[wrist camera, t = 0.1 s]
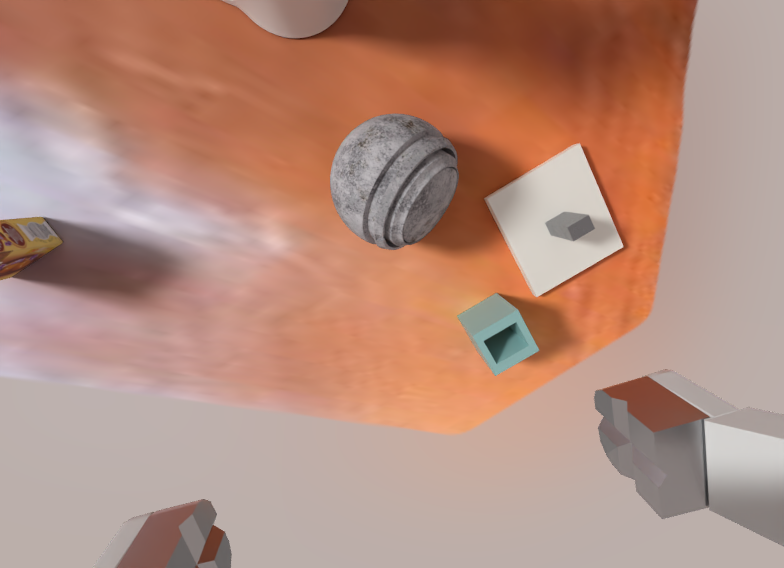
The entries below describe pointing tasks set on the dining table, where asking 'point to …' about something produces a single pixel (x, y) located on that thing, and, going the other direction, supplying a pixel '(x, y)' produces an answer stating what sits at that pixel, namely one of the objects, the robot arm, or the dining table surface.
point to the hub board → (542, 203)
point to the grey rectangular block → (570, 225)
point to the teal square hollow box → (498, 333)
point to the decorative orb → (393, 179)
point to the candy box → (24, 243)
